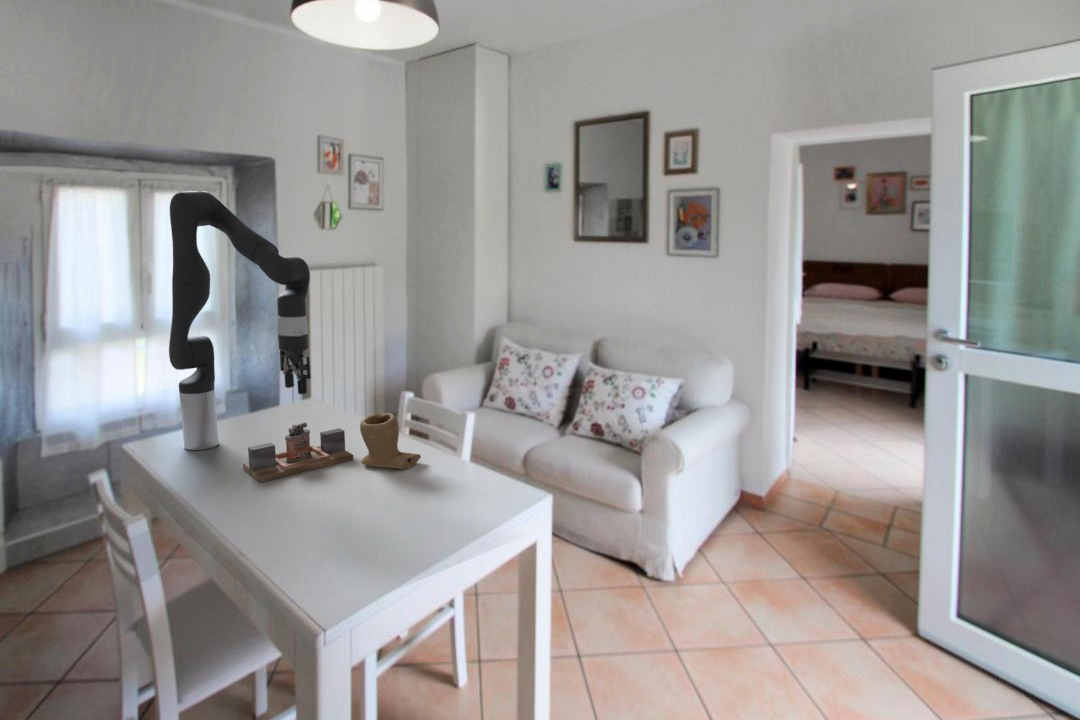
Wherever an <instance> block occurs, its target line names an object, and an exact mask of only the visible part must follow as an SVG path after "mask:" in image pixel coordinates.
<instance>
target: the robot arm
mask: <svg viewBox="0 0 1080 720" xmlns="http://www.w3.org/2000/svg"><path fill="white" fill-rule="evenodd" d="M170 199H171V200H170V202H169V220H170V229H171V238H172V239H171V240H172V241H171V243H172V276H171V278H172V279H171V280H172V281H171V287H172V289H171V293H172V294H171V295H172V296H171V297H172V304H171V305H172V308H171V309H172V311H171V313H172V315H171V326H170V335H169V341H168V343H169V345H168V356H169V362H170V364H171V366H172V367H173V368H174V369H175V370H179V371H181V370H191V369H196V370H195V371H193V373H192V374H191V375H189V376H188V377H185V378H184V379H182V380H180V382H179V383H178V392H179V393H178V394H179V404H180V405H179V406H180V413H181V414H180V415H181V424H182V433H183V434H182V436H183V446H184V449H185V450H188V451H202V450H208V449H212V448H214V447H217V446H218V445H219V443H220V440H219V439H220V438H219V427H218V425H219V424H218V415H217V414H218V413H217V402H216V401H217V400H216V391H215V389H216V388H215V382H216V380H215V379H216V376H215V375H216V373H215V369H216V368H215V349H214V345H213V342H212V340H211V338H210V337H209V336H207V335H197V336H196V335H195V336H194V335H193V336H189V332H190V329H191V327H192V324H193V322H194V321H195V320H196V317H198V315H199V313H200V312H201V311H202V310H203V309H204V308H205V305H206V304H207V302H208V300H209V299H210V298H209V297H210V293H211V274H210V269H209V267H208V265H207V264H206V262H205V260H204V258H203V256H202V255H201V253H200V251H199V247H198V238H197V236H198V235H197V234H198V233H197V232H198V227H206V226H210V227H213V228H215V229H217V230H219V231H221V232H222V233H224V235H226V236H227V237H228V239H229V240H230V243H231V245H233V247H234V249H235V250H236V251H237V252H238V253H239V254H240V255H241V256H243V257H244V258H246V259H247V260H249V261H250V262H252V263H253V264H254V265H257V266H258V267H259V269H260V270H261V271H262V272H263V274H265V275H266V276H267V277H268V278H269V279H270V280H271V281H272V282H274V283H276V284H279V285H281V286H285V287H284V291H283V292H282V293H281V294H279V295H278V297H277V300H276V303H277V305H276V307H277V338H278V339H277V341H278V350H279V364H280V367H279V369H280V371H282V373H283V375H284V386H285V388H286V389H290V388H294V386H295V381H294V380H295V378H294V375H295V376H296V379H297V380H296V381H297V383H296V384H297V394H298V395H305V394H307V393H308V389H307V388H308V387H307V385H308V384H307V380H310V379H312V378H311V364H310V357H309V356H304V351H307V350H308V349H309V346H310V345H309V333H308V332H309V331H308V328H309V327H308V320H307V311H306V310H307V309H306V308H307V306H306V297H307V293H308V289H309V284H310V273H311V272H310V268H309V266H308V263H307V262H306V260H304V259H303V258H301V257H297V256H294V257H293V256H292V257H284V256H282V255H280V253H279V248H278V247H277V246H276V245H275V244H274V243H273V242H271V241H269V240H268V239H267V238H265V237H263V236H262V235H260V234H259V233H257V232H256V231H254V230H253V229H251V227H249V226H248V225H247V224H245V223H244V222H243V221H241V219H240V218H238V217H237V216H236V215H235V214H234V212H233V211H231V210H229V208H228V207H227V206H225V204H223V202H222V201H220V200H219V199H218V198H217V197H216V196H214V194H211V193H210V192H208V191H203V190H192V191H179V192H176V193H174V194H173V196H172V197H171V198H170Z"/></svg>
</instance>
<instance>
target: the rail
mask: <svg viewBox="0 0 1080 720" xmlns="http://www.w3.org/2000/svg"><path fill="white" fill-rule="evenodd" d="M345 435H346V434H345V430H344V429H343V428H335V429H329V430H326V431H320V434H319V436H320V445H317V446H315V445H310V452H311V456H310V457H308V458H306V459H304V460H302V461H299V462H295V463H291V464H289V463H287V461H286V459H287V450H286V451H283V452H277V453H276V445H275V444H273V443H272V442H266V443H262V444H261V443H260V444H258V445H256V444H255V445H252V446H248V447H247V453H248V461H246V462H243V463H242V467H243V469H244V471H246V472H247V473H248V474H249V475H251V476H252V477H253V478H254V479H256V480H257V481H258V482H259V483H260V484H261V483H265V482H269V481H273V480H277V479H281V478H285V477H289V476H293V475H297V474H301V473H305V472H309V471H314V470H318V469H322V468H326V467H330V466H334V465H337V464H341V463H342V464H343V463H346V462H350V461H353V460H354V454H353V453H351V452H349V451H348V450H346V437H345Z"/></svg>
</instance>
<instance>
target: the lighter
mask: <svg viewBox="0 0 1080 720" xmlns="http://www.w3.org/2000/svg"><path fill="white" fill-rule="evenodd" d="M307 427H308V423H307V422H306V421H305V422H300V423H298V424H292V426H291V427H288V434H287V435H285V436H284V440H285V444H286V445H285V446H286V451H287V459H286V461H287V463H289V464H291V463H295V462H299V461H302V460H304V459H306V458H308V457H310V456H311V452H310V446H311V445H310V443H311V441H310V439H311V438H310V433H311V429H308V428H307Z"/></svg>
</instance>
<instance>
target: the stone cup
mask: <svg viewBox="0 0 1080 720" xmlns="http://www.w3.org/2000/svg"><path fill="white" fill-rule="evenodd" d="M360 421H361V422H360V425H359V429H360V430H359V431H360V434H361V437H362V440H363V442H364V444H365V446H366V448H367V450H368V453H367V455H366V456H364V457H363V458H362V459H361V464H362V465H364V466H368V467H375V468H384V469H385V468H386V469H387V468H388V469H398V470H399V469H400V470H401V469H403V470H404V469H409V468H411V467H413V466H414V465H415V464H417V462H418V461H419V460H420V459H421V458H422V457H421V454H419V453H413V452H412V453H411V452H403V451H400V450H399V447H398V443H399V436H400V426H399V420H398V418H397V417H396V416H395V415H394V414H393V413H390V412H385V413H373V414H372V415H368V416H367V417H365V418H363V419H362V420H360Z"/></svg>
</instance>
